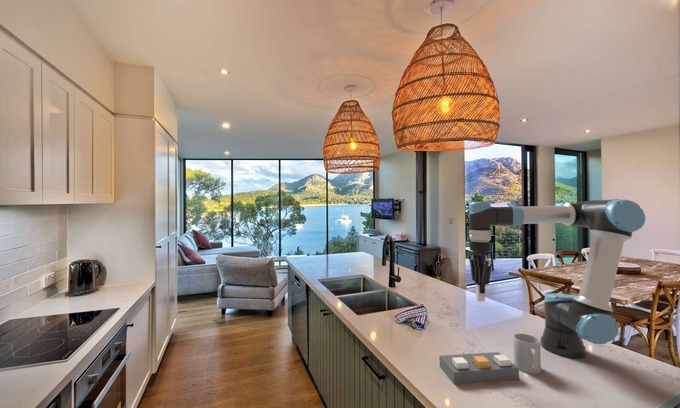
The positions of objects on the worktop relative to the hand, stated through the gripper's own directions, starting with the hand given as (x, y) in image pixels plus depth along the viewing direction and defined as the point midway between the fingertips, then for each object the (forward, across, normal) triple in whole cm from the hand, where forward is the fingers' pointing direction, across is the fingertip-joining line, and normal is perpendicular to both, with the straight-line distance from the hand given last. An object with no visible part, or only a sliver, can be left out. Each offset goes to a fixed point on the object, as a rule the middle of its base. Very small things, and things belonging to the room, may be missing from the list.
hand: (480, 300), depth 109 cm
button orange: (+21, +8, -5) cm, 23 cm away
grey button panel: (+24, +6, -5) cm, 25 cm away
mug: (+24, +6, +15) cm, 29 cm away
